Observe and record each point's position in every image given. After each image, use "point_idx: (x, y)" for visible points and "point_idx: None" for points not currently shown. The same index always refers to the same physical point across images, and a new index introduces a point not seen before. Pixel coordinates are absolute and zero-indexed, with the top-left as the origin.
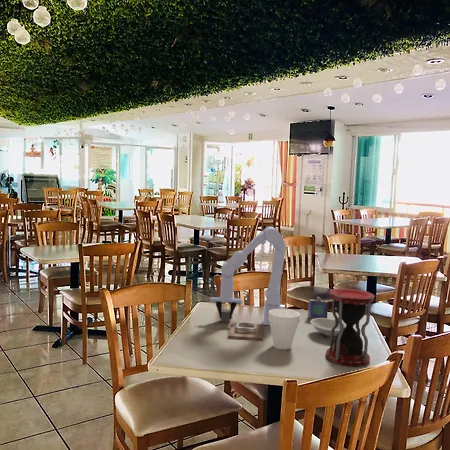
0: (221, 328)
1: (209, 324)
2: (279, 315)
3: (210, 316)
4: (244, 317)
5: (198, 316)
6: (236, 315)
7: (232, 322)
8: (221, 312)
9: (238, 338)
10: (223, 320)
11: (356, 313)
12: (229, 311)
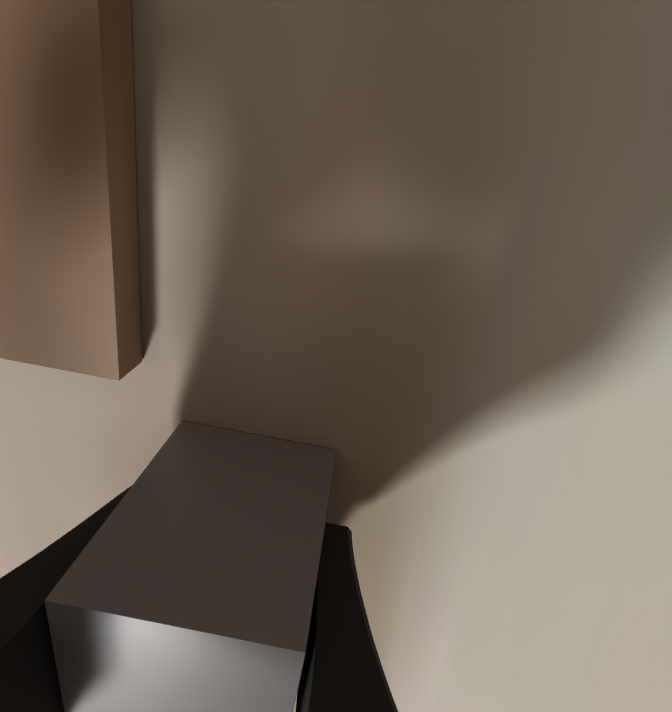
0: (351, 37)
1: (583, 336)
2: None
3: (466, 681)
4: None
5: (651, 693)
6: None
7: (96, 344)
8: (300, 625)
9: None
10: (282, 465)
11: None
12: (71, 650)
